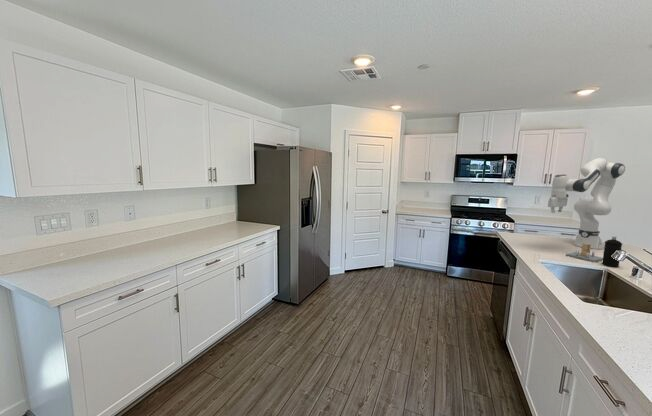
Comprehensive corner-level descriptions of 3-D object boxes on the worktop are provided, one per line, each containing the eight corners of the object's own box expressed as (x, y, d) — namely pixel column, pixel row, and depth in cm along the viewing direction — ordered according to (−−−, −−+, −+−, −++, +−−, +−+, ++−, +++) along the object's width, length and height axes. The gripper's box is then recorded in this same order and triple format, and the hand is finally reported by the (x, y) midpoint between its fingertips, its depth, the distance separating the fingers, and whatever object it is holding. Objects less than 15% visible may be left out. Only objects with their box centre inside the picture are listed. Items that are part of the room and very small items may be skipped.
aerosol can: (616, 268, 176) (620, 238, 174) (599, 264, 183) (603, 236, 181) (621, 266, 180) (625, 237, 177) (604, 262, 187) (608, 234, 185)
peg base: (575, 253, 208) (576, 247, 208) (604, 260, 193) (605, 253, 192) (565, 255, 203) (566, 249, 202) (595, 262, 187) (596, 255, 187)
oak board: (584, 254, 200) (585, 243, 199) (589, 256, 197) (590, 244, 196) (580, 255, 198) (582, 243, 197) (585, 256, 195) (587, 244, 194)
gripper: (555, 195, 205) (553, 213, 207) (570, 195, 213) (567, 212, 215) (546, 195, 211) (544, 212, 212) (560, 194, 219) (558, 211, 221)
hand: (556, 212), depth 214 cm, fingers open, 8 cm apart
